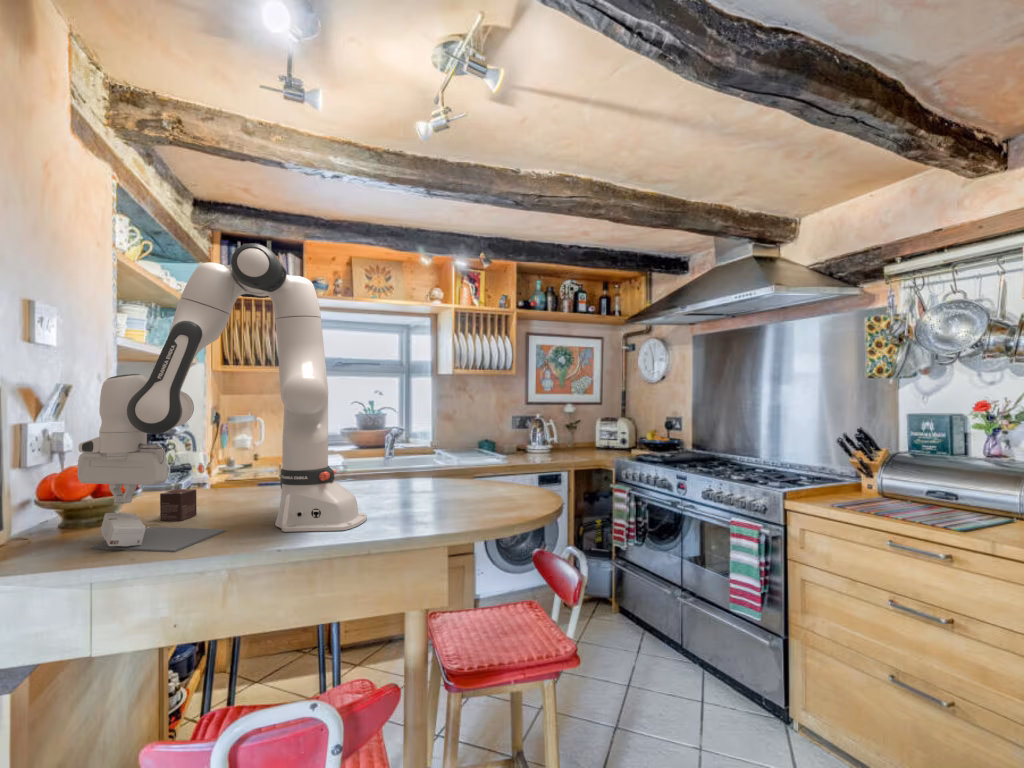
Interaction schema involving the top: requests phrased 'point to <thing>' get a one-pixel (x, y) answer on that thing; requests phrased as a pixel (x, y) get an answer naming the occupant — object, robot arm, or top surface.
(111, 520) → the skincare box
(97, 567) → the top surface
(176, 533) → the mat
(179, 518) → the box
